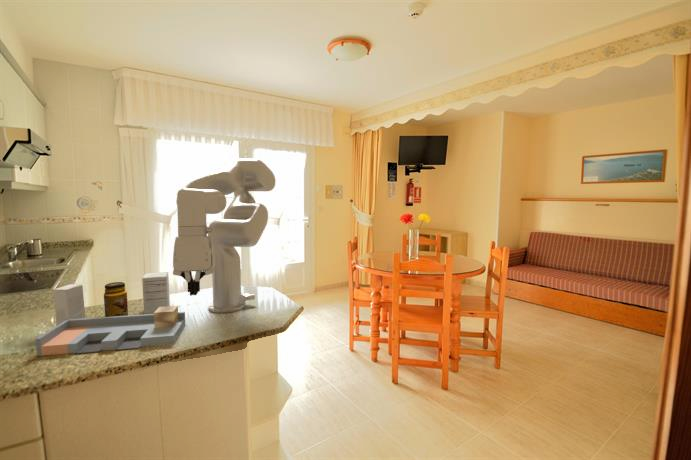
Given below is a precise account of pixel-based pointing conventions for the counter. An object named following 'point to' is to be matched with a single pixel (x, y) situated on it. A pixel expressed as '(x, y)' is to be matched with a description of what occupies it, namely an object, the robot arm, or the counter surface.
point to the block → (166, 316)
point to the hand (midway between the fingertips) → (193, 294)
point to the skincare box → (69, 302)
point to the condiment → (115, 300)
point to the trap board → (107, 334)
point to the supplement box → (155, 291)
